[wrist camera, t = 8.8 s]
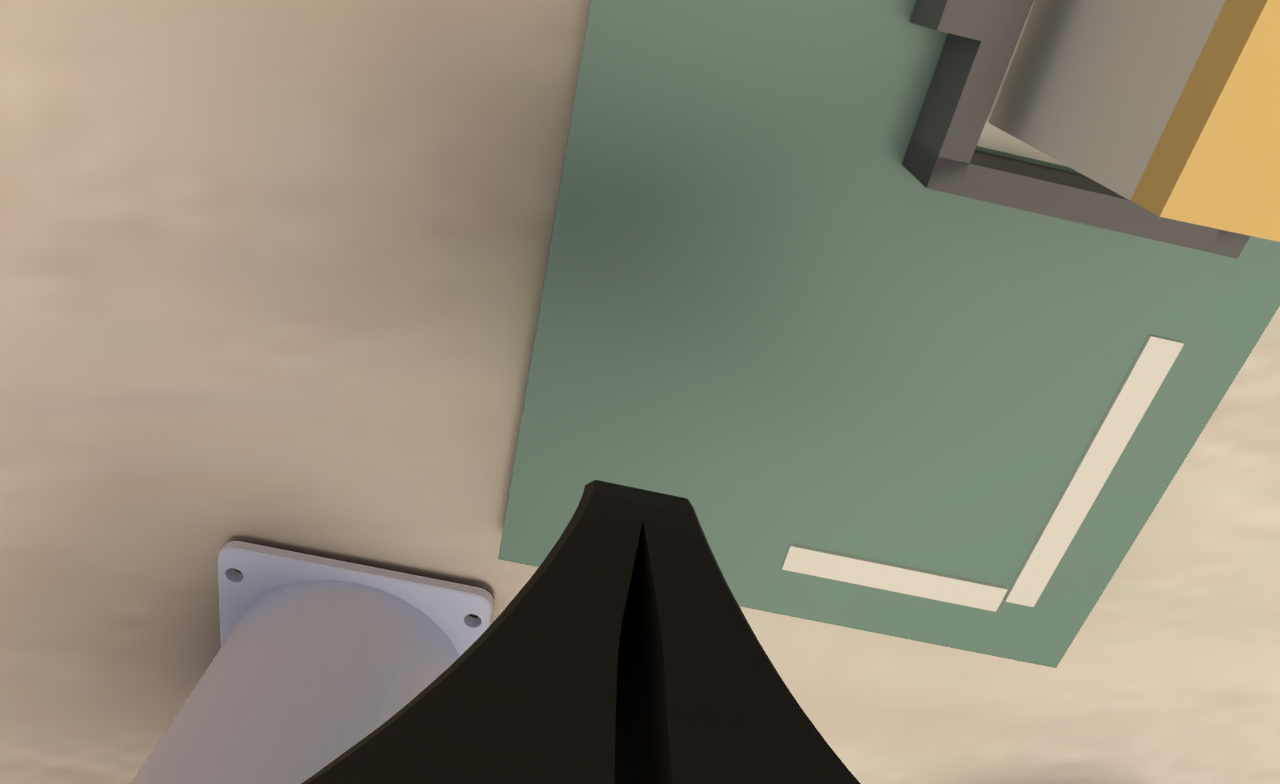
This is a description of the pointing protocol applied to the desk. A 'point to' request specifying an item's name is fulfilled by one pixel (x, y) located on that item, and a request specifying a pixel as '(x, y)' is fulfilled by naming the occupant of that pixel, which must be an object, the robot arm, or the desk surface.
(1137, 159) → the plug
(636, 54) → the board
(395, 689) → the robot arm
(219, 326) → the desk surface
